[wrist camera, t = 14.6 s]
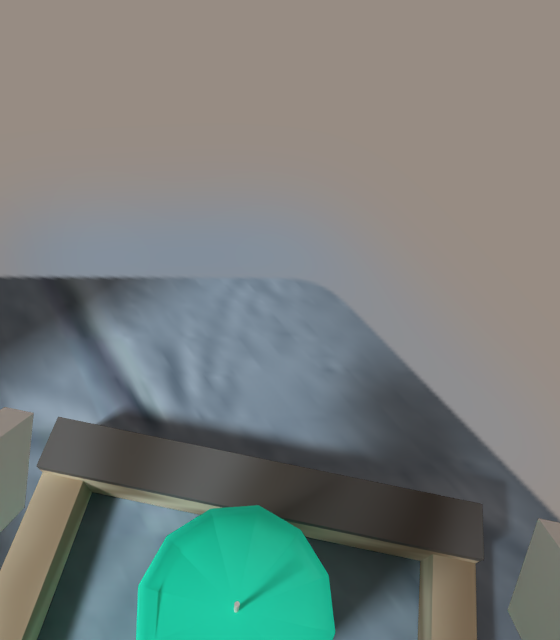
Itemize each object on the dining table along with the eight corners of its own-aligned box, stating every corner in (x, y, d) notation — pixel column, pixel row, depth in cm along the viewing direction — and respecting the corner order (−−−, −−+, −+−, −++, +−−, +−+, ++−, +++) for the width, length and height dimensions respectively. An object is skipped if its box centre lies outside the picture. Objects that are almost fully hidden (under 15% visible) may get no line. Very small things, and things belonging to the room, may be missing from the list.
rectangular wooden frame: (-66, 772, 21) (-106, 787, 18) (73, 438, 29) (58, 416, 26) (461, 892, 20) (494, 925, 18) (459, 518, 28) (482, 504, 25)
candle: (189, 544, 26) (164, 472, 16) (308, 571, 26) (358, 516, 16) (149, 689, 23) (87, 712, 13) (285, 722, 23) (329, 772, 13)
